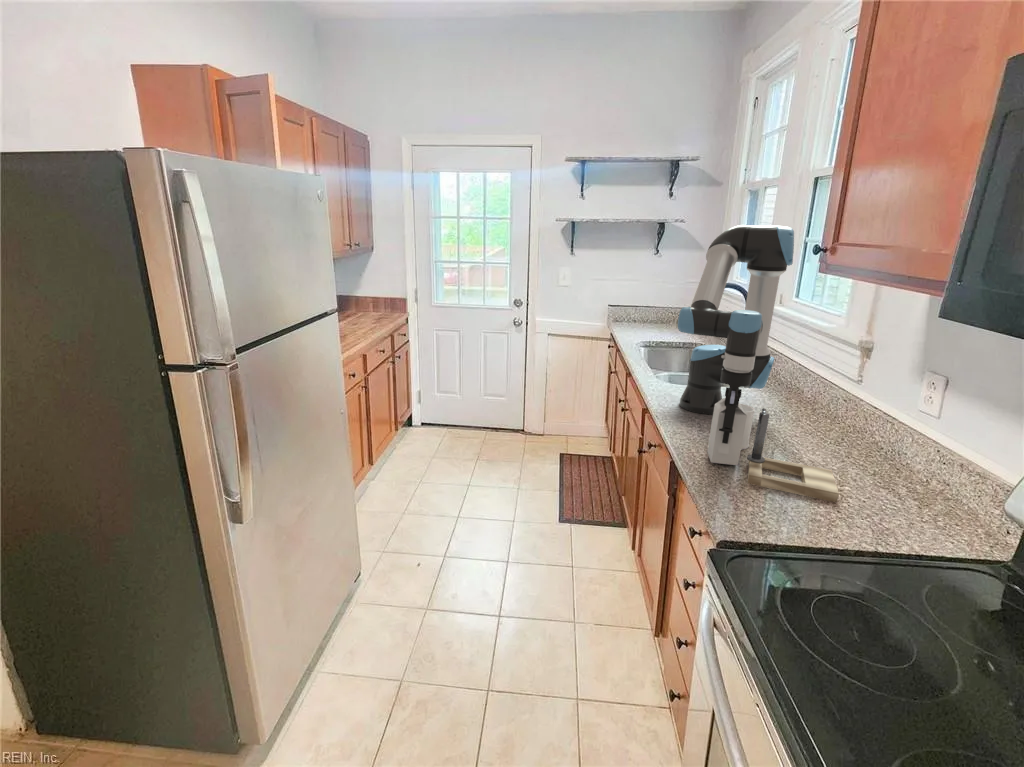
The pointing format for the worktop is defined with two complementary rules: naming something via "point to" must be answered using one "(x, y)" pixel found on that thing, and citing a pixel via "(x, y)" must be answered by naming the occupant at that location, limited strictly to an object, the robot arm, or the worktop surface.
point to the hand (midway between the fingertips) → (724, 446)
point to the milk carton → (735, 439)
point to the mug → (747, 425)
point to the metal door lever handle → (759, 438)
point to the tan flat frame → (812, 484)
